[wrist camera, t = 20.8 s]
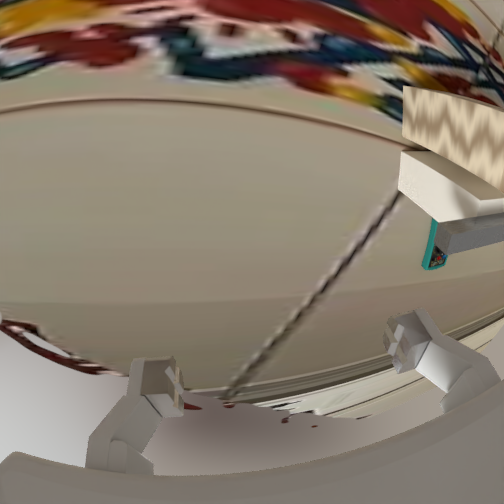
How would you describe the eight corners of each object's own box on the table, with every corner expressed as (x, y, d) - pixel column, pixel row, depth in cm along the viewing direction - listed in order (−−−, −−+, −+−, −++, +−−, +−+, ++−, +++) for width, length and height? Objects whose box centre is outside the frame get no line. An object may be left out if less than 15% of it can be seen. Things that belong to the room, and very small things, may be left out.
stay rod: (438, 222, 32) (451, 234, 29) (516, 210, 33) (528, 219, 30) (433, 242, 34) (445, 255, 31) (512, 226, 34) (523, 235, 32)
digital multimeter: (419, 266, 67) (425, 273, 65) (431, 215, 59) (438, 221, 56) (439, 261, 67) (445, 268, 65) (452, 212, 59) (459, 218, 57)
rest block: (401, 151, 49) (480, 200, 31) (438, 151, 49) (514, 197, 31) (397, 189, 53) (467, 249, 35) (433, 186, 54) (502, 240, 36)
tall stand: (403, 85, 42) (516, 117, 20) (448, 92, 42) (552, 128, 21) (402, 136, 47) (504, 193, 26) (446, 138, 48) (541, 191, 26)
